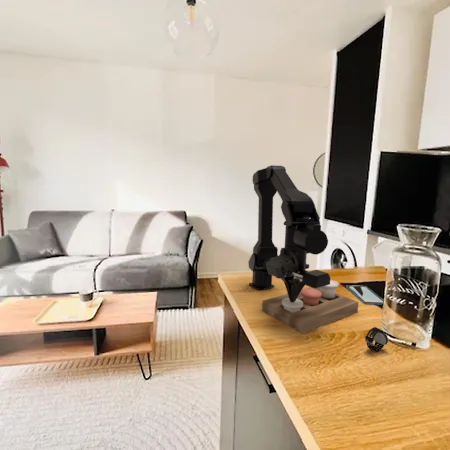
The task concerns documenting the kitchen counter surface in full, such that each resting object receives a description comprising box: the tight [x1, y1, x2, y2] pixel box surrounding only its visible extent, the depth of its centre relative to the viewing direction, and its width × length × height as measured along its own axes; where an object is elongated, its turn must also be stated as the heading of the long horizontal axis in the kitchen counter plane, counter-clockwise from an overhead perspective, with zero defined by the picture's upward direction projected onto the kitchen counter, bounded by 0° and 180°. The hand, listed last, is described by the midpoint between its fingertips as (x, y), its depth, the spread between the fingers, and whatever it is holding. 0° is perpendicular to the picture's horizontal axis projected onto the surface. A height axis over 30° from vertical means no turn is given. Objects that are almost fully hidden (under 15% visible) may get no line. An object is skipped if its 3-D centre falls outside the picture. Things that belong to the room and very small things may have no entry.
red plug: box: [301, 287, 322, 306], centre depth 84 cm, size 6×6×4 cm
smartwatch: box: [364, 326, 389, 353], centre depth 66 cm, size 4×5×5 cm
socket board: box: [261, 287, 359, 335], centre depth 85 cm, size 15×23×3 cm, turn 124°
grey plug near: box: [282, 298, 303, 313], centre depth 80 cm, size 6×6×4 cm
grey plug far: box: [320, 279, 340, 298], centre depth 88 cm, size 6×6×4 cm
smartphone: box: [345, 284, 384, 306], centre depth 98 cm, size 7×1×15 cm
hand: (292, 301), depth 80 cm, fingers closed, pressing on grey plug near
